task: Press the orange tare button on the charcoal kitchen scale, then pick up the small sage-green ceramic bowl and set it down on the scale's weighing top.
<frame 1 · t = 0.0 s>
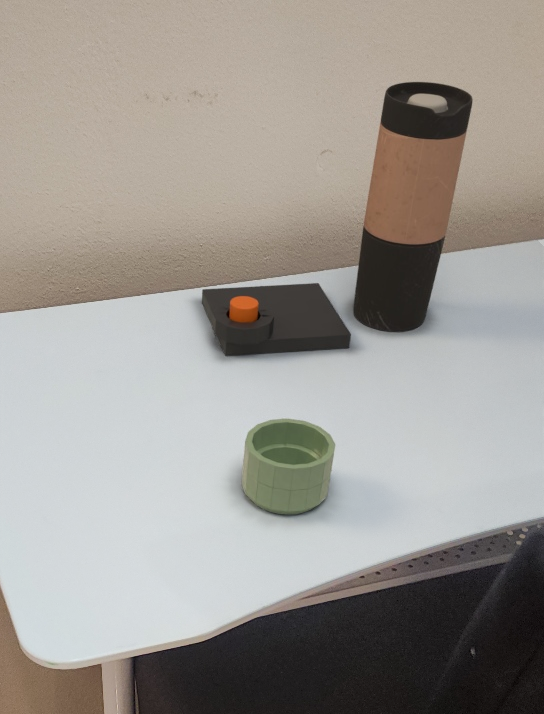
bowl: (284, 492, 77), on the table
tare button: (243, 310, 91), point 3 cm above the table, slide at 0.1 cm
scale: (273, 324, 97), on the table
travel mug: (388, 317, 99), on the table
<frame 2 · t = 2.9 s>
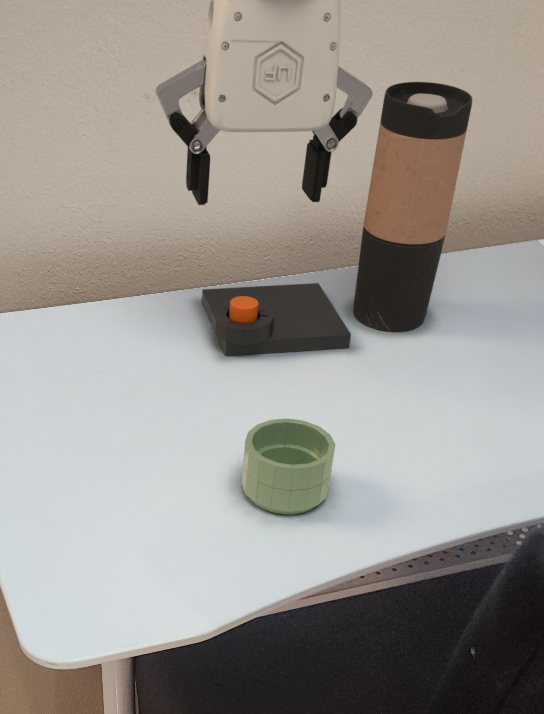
hand: (255, 197, 84), 14 cm above the table, tool pointing down, fingers open, 9 cm apart
nothing on the table moved.
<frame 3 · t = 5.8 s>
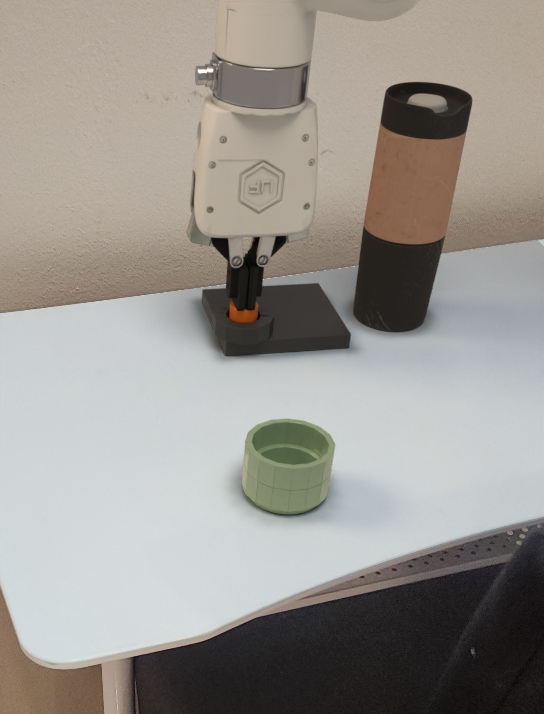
hand: (242, 303, 91), 4 cm above the table, tool pointing down, fingers closed
tare button: (243, 312, 92), point 3 cm above the table, slide at -0.1 cm, touching gripper
everything else where it was.
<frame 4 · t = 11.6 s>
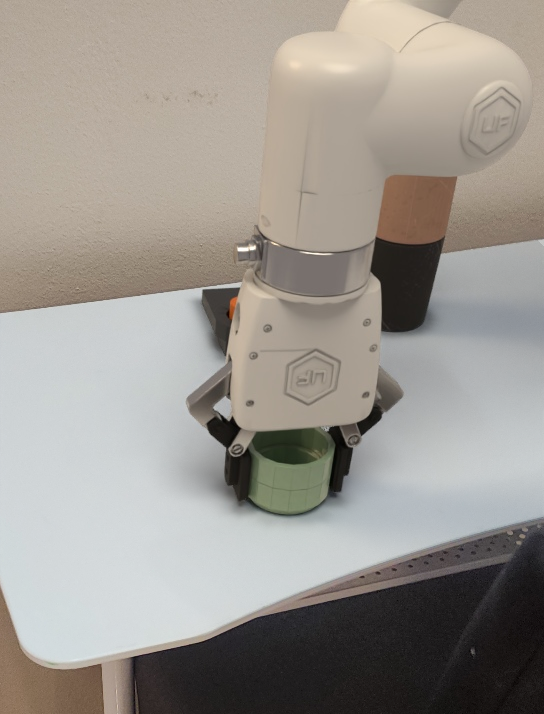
hand: (285, 484, 77), 1 cm above the table, tool pointing down, fingers closed on bowl, 6 cm apart
bowl: (284, 492, 77), on the table, touching gripper
tare button: (243, 310, 91), point 3 cm above the table, slide at 0.1 cm
everything else where it was.
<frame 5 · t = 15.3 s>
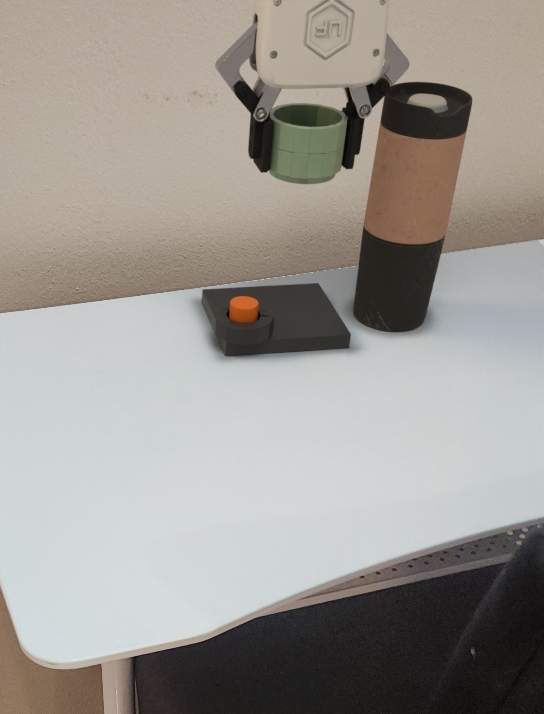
hand: (302, 163, 85), 15 cm above the table, tool pointing down, fingers closed on bowl, 6 cm apart
bowl: (301, 172, 86), point 15 cm above the table, touching gripper
everything else where it was.
when the fingers open (2 cm above the table, at t = 19.3 s): bowl stays where it is, resting on scale.
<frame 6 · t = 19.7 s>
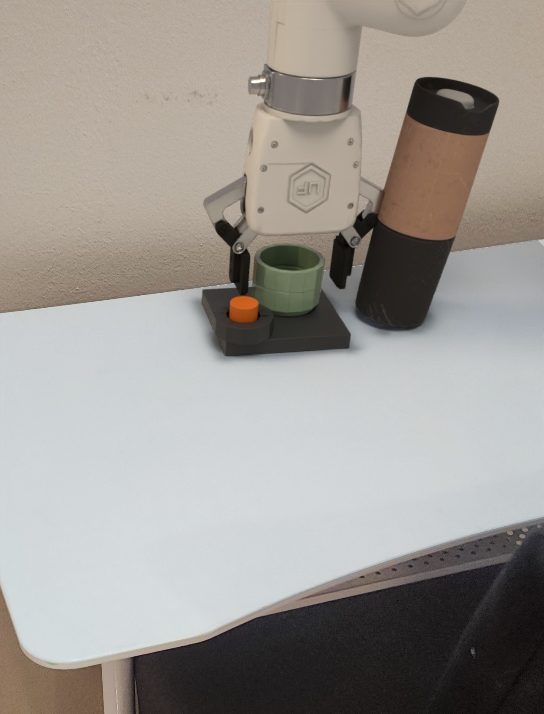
hand: (289, 286, 96), 3 cm above the table, tool pointing down, fingers open, 9 cm apart
bowl: (285, 303, 97), point 1 cm above the table, touching scale
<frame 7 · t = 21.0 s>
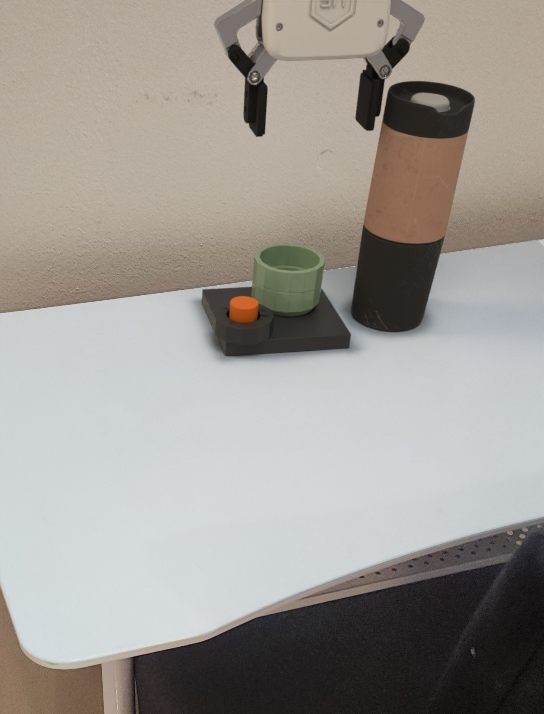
hand: (310, 128, 86), 17 cm above the table, tool pointing down, fingers open, 9 cm apart
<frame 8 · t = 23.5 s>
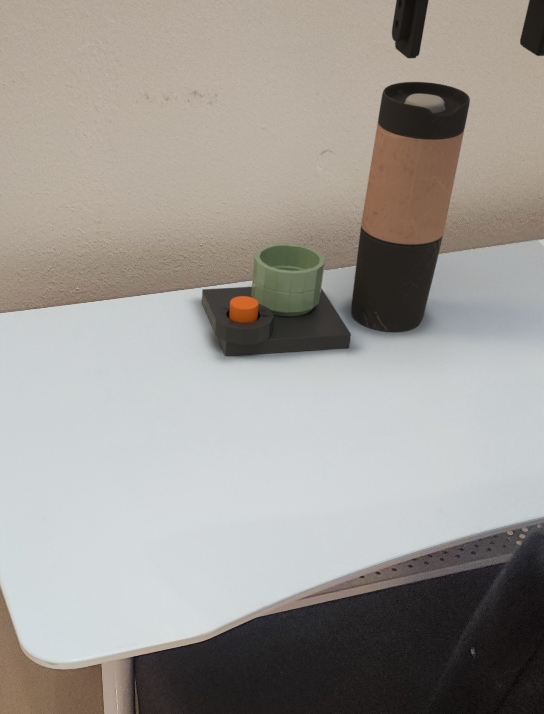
hand: (469, 52, 72), 26 cm above the table, tool pointing down, fingers open, 9 cm apart
nothing on the table moved.
at the end: tare button pushed in 0.9 cm at the most during the clip, back to where it started at the end; bowl inside the target area on the scale (2.1 cm from its centre), point 1.4 cm above the scale's base; bowl touching scale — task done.
